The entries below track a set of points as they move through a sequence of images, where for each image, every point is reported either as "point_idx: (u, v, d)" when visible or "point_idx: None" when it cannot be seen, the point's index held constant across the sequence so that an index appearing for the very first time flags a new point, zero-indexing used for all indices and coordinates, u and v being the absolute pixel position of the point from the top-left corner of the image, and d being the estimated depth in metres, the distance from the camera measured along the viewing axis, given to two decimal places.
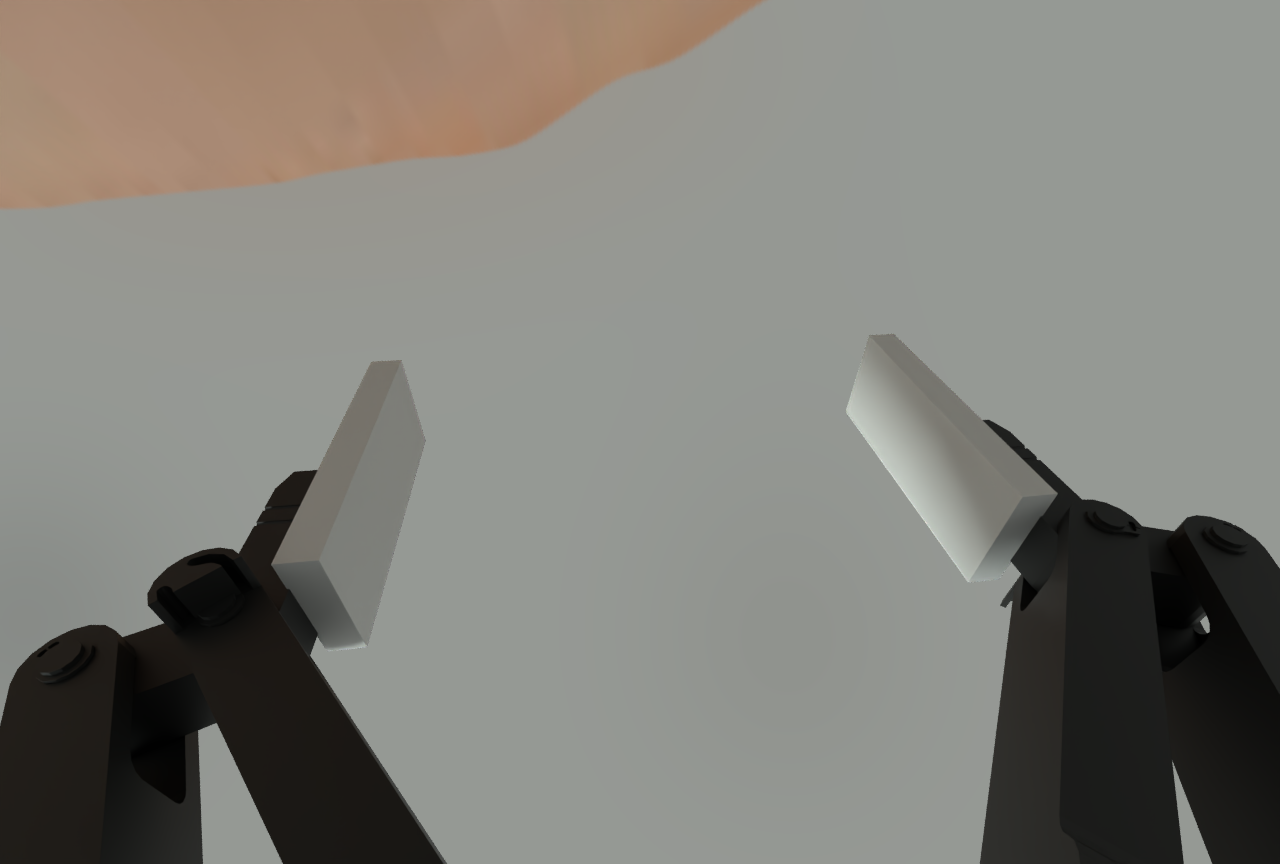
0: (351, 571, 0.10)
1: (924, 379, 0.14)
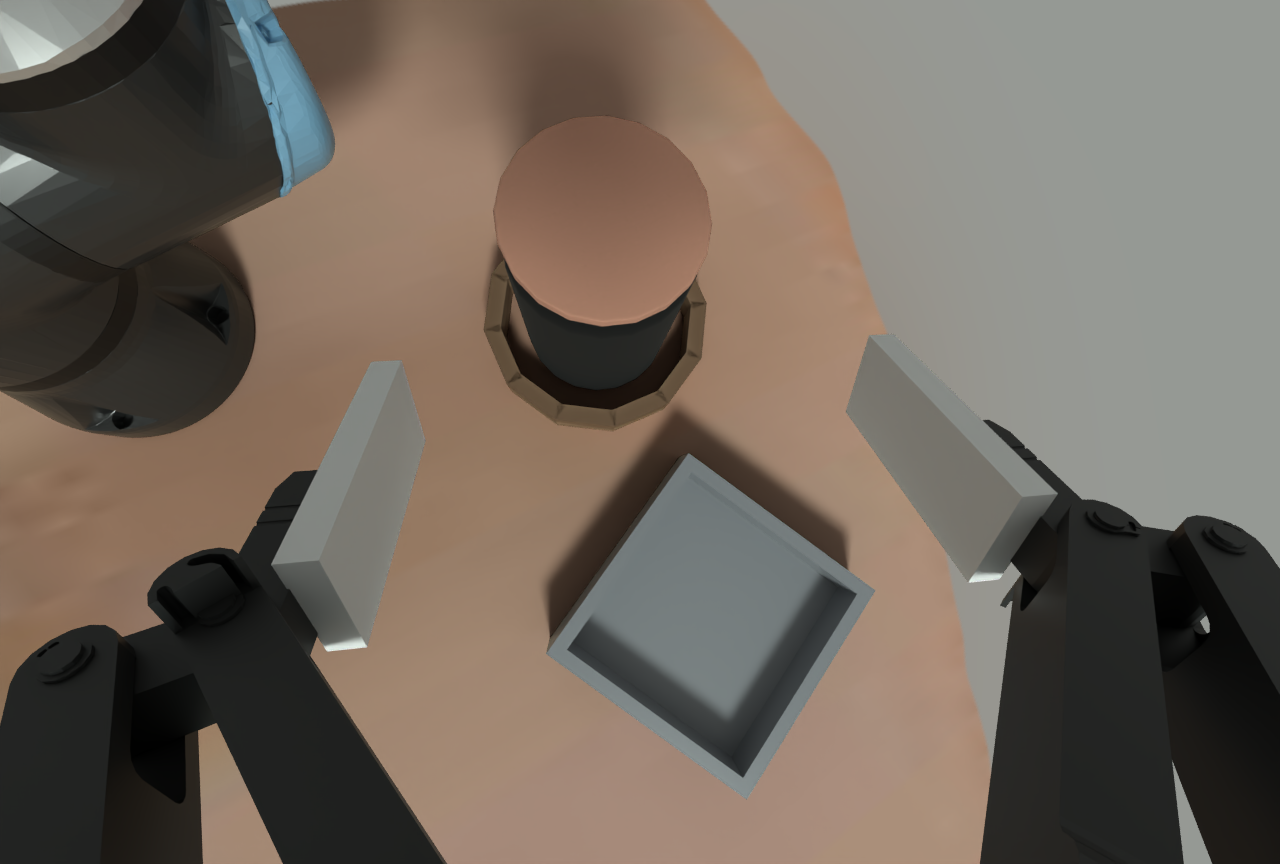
0: (351, 571, 0.10)
1: (924, 379, 0.14)
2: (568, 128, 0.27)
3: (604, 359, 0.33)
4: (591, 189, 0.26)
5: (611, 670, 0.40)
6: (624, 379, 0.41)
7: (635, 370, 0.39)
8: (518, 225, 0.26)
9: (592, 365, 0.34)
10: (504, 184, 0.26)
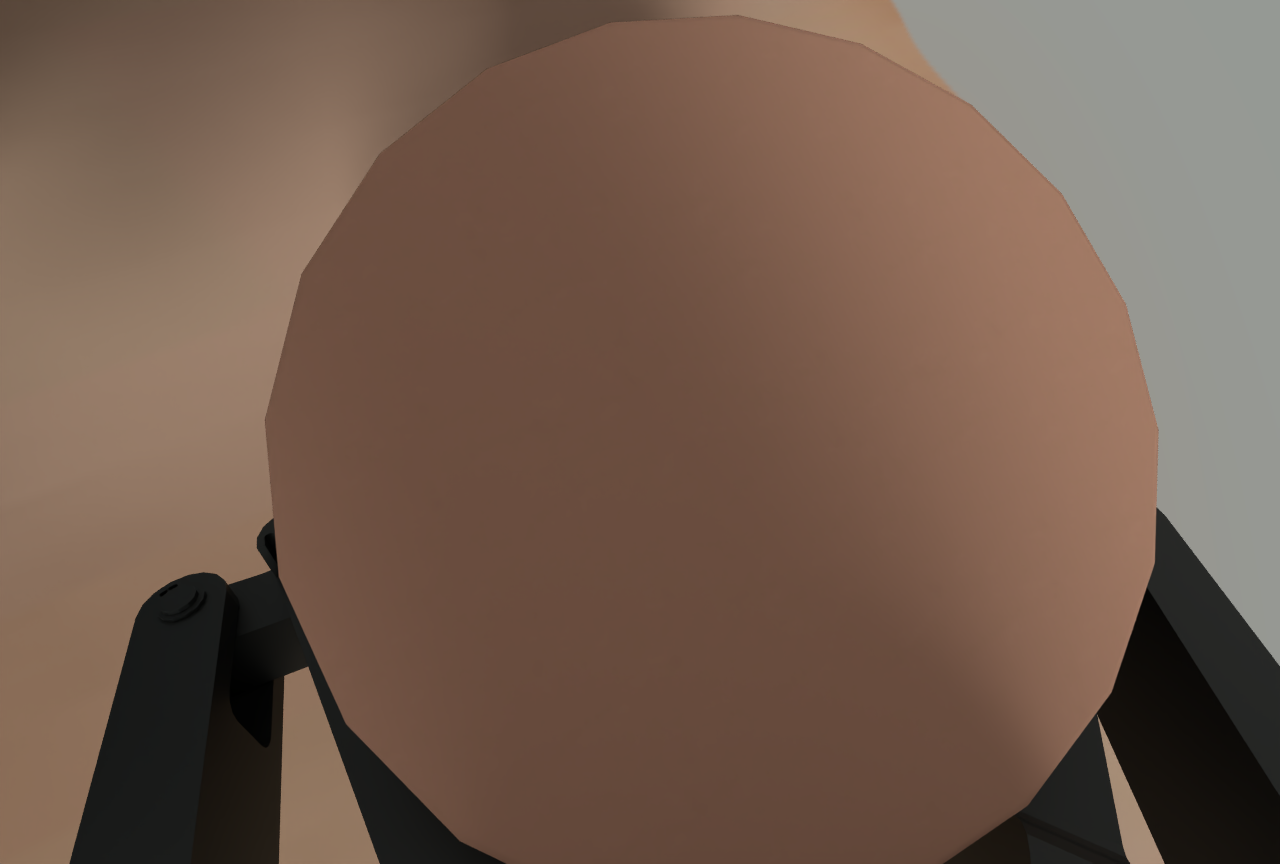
0: None
1: None
2: (591, 64, 0.07)
3: None
4: (691, 315, 0.06)
5: None
6: None
7: None
8: (374, 490, 0.06)
9: None
10: (316, 304, 0.06)
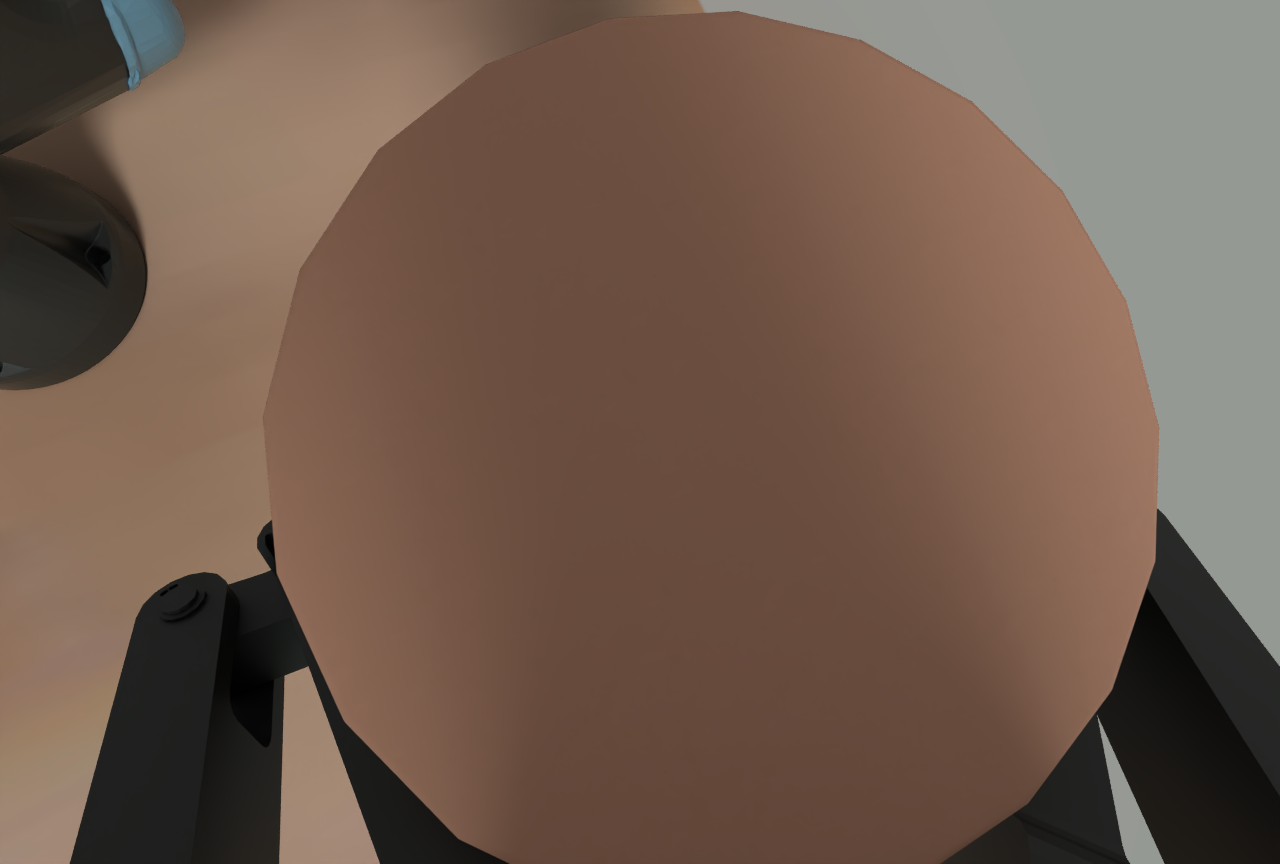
0: None
1: None
2: (590, 60, 0.07)
3: None
4: (690, 311, 0.06)
5: None
6: None
7: None
8: (373, 487, 0.06)
9: None
10: (314, 300, 0.06)
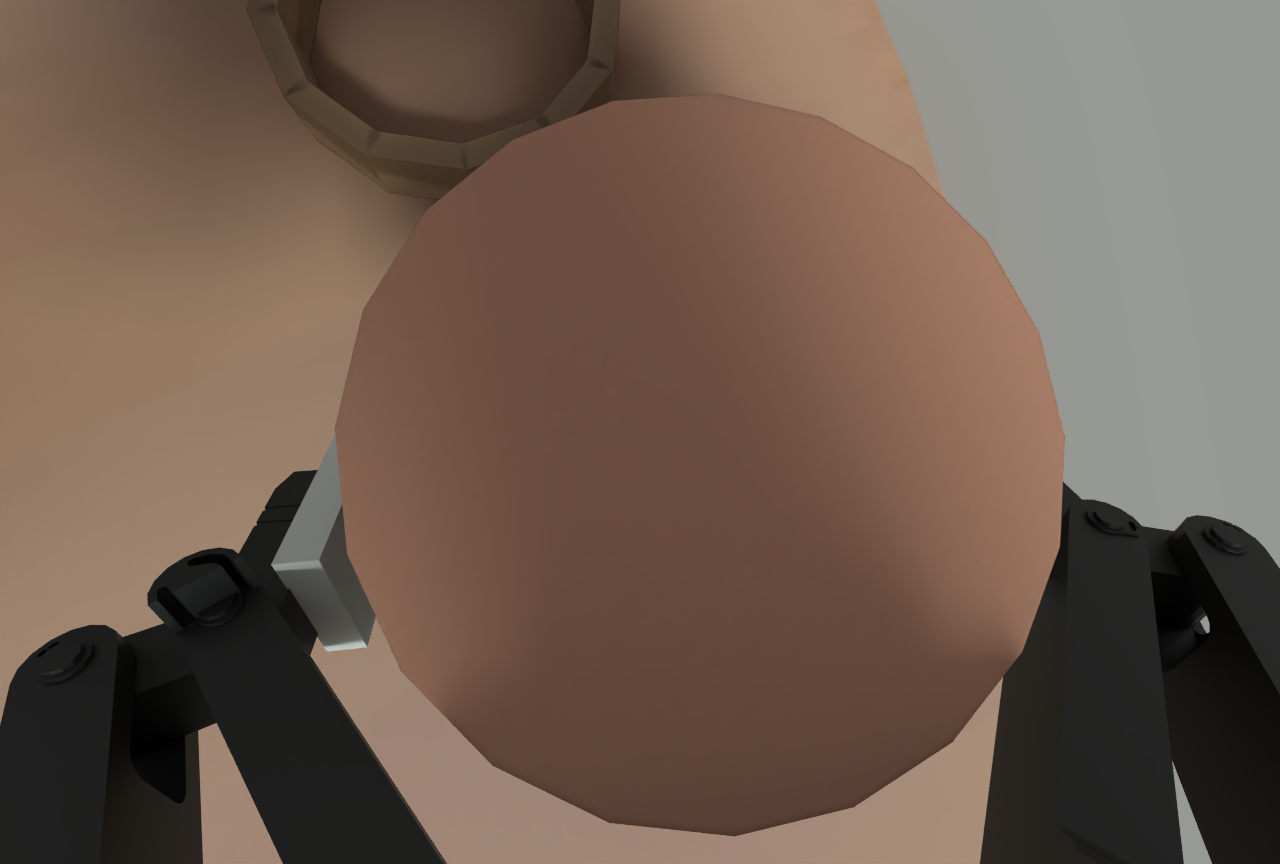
0: (351, 571, 0.10)
1: None
2: (597, 136, 0.08)
3: None
4: (679, 343, 0.08)
5: None
6: None
7: None
8: (424, 485, 0.07)
9: None
10: (375, 334, 0.07)
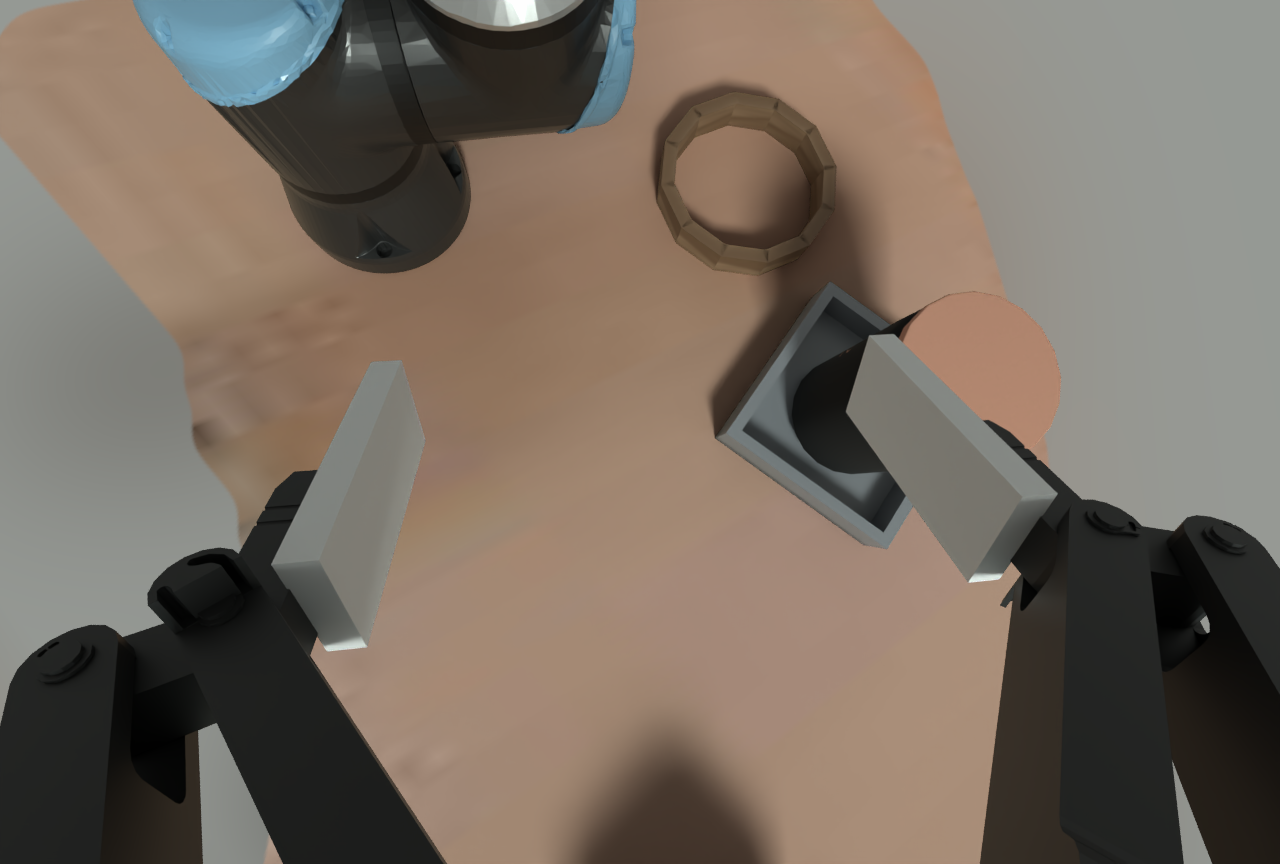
0: (351, 571, 0.10)
1: (924, 379, 0.14)
2: (947, 303, 0.33)
3: None
4: (969, 354, 0.33)
5: None
6: None
7: None
8: None
9: None
10: None
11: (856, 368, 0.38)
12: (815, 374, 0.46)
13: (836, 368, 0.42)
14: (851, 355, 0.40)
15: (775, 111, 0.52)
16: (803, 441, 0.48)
